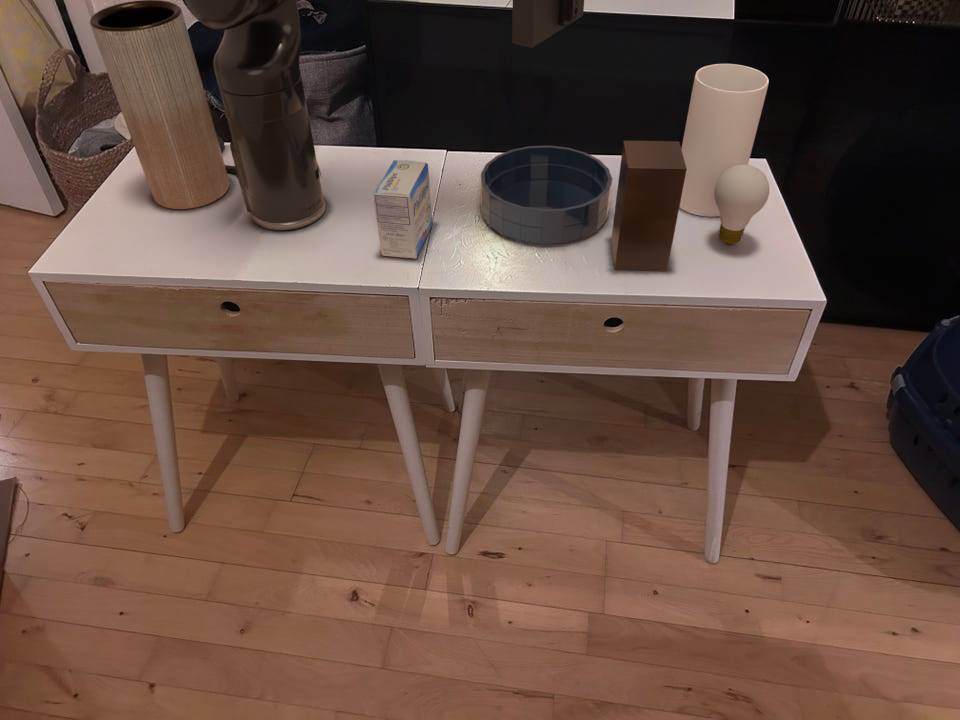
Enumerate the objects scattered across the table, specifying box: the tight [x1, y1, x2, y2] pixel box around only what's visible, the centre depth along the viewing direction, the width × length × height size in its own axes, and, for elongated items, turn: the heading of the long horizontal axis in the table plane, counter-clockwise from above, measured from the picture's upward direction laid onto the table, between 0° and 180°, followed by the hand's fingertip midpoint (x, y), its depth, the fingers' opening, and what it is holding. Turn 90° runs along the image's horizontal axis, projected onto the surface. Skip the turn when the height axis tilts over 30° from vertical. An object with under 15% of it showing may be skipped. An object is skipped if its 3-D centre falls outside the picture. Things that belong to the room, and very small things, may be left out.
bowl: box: [480, 145, 613, 246], centre depth 93 cm, size 16×16×5 cm
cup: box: [679, 63, 770, 218], centre depth 90 cm, size 8×8×16 cm
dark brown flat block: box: [511, 0, 585, 49], centre depth 76 cm, size 11×2×5 cm, turn 146°
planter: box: [89, 0, 230, 210], centre depth 92 cm, size 10×10×23 cm
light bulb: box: [714, 164, 770, 246], centre depth 85 cm, size 6×6×10 cm
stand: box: [610, 140, 687, 272], centre depth 83 cm, size 6×6×13 cm
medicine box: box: [373, 159, 434, 260], centre depth 87 cm, size 8×4×9 cm, turn 168°
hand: (553, 20), depth 78 cm, fingers closed on dark brown flat block, 2 cm apart
